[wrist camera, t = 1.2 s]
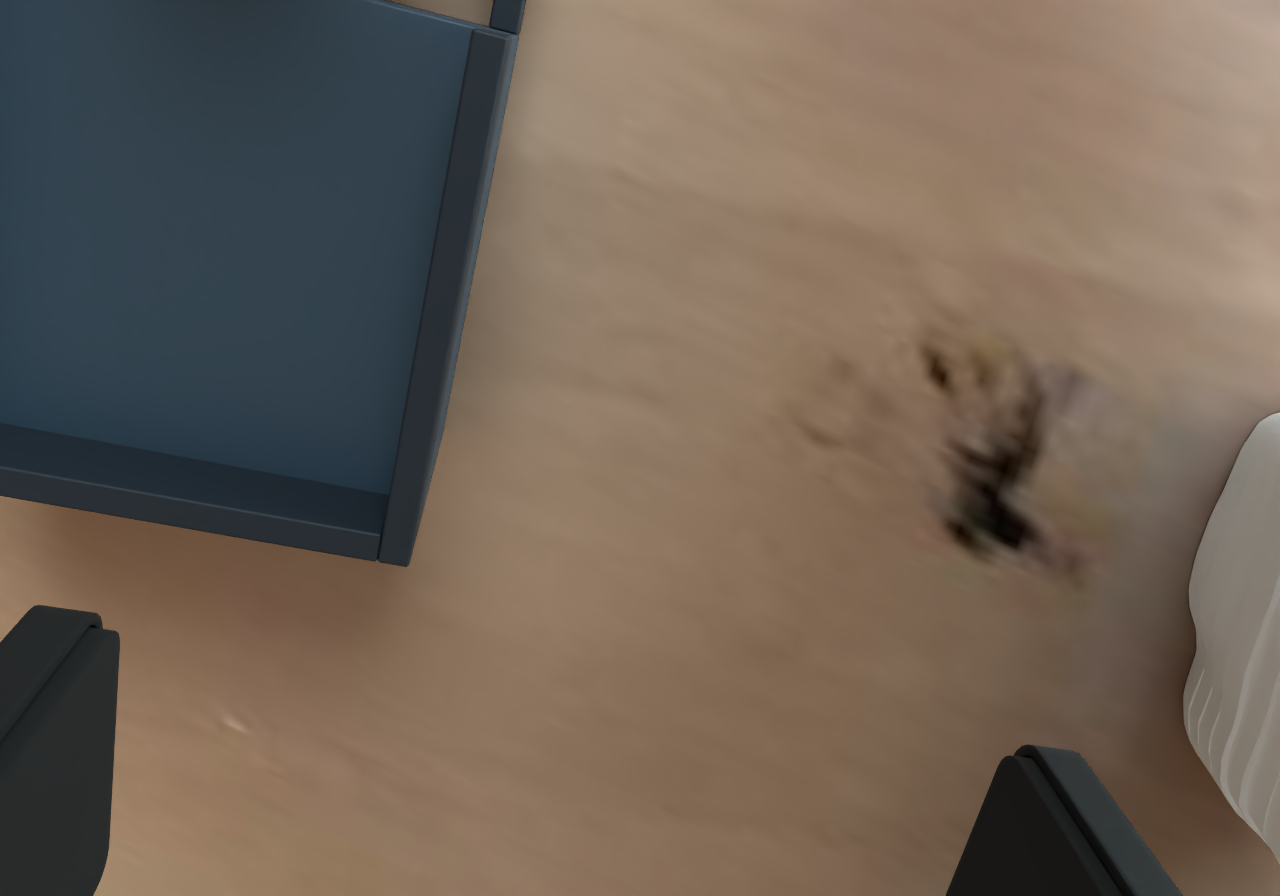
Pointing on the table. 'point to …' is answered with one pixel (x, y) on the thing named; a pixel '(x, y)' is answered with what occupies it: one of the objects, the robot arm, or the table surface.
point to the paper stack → (1241, 637)
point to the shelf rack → (241, 257)
